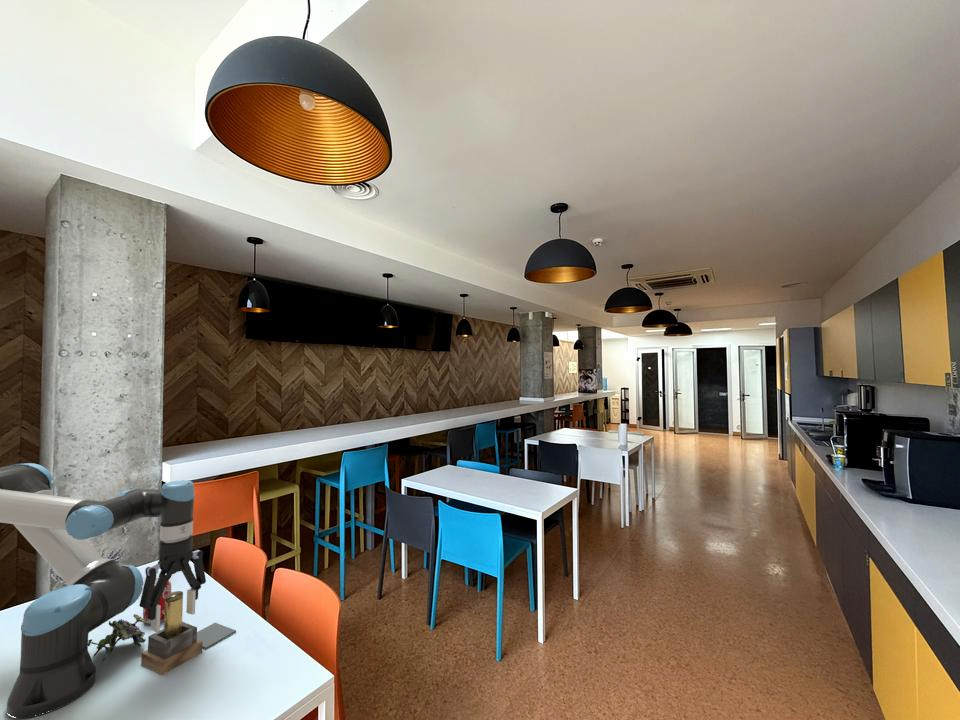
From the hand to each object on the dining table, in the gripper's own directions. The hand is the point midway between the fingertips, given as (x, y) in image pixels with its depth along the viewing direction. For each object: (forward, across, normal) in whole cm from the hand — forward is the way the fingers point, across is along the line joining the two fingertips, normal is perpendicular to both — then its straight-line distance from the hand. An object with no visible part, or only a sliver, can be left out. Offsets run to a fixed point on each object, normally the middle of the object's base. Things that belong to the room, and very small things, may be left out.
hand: (173, 621), depth 114 cm
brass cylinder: (+7, 0, 0) cm, 7 cm away
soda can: (+10, +9, +25) cm, 28 cm away
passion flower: (+10, -5, +16) cm, 20 cm away
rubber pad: (+10, +10, 0) cm, 14 cm away
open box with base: (+10, 0, 0) cm, 10 cm away
